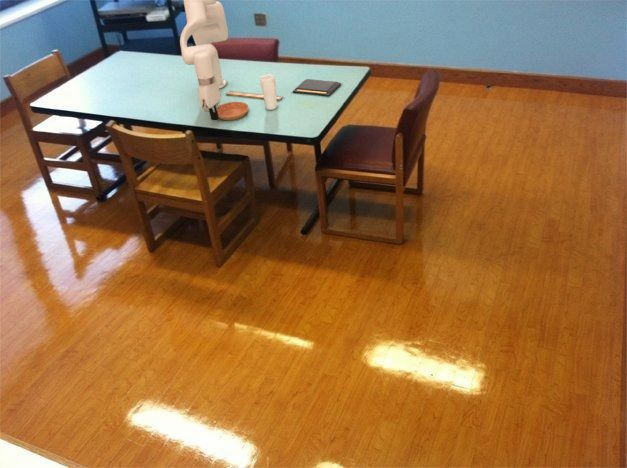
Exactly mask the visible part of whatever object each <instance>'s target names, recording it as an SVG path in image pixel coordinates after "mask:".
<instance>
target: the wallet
mask: <svg viewBox="0 0 627 468" xmlns="http://www.w3.org/2000/svg"><path fill="white" fill-rule="evenodd" d="M341 86H342V83H341V82H338V81H334V80H323V79H311V78H306V79H304V80H303V81H301V83H300V84H299V85H298V86H297V87H295V88H294V89H293V90H292V93H293V94H301V95H302V94H303V95H312V96H321V97H330V96H332V94H333V93H334V92H335V91H337V90H338V88H339V87H341Z"/></svg>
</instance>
